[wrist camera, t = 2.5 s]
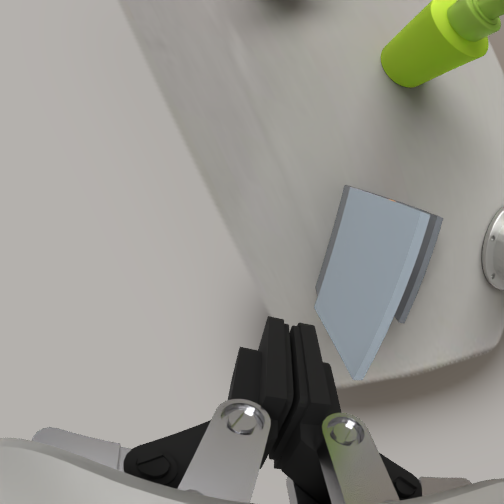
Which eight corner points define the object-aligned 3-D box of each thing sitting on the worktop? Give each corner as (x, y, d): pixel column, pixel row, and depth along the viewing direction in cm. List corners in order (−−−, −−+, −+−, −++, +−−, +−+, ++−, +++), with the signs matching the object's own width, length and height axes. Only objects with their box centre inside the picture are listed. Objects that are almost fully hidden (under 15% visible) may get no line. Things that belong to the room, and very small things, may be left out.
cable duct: (422, 210, 30) (443, 218, 25) (390, 303, 33) (404, 323, 28) (344, 184, 30) (357, 188, 25) (315, 287, 33) (321, 307, 29)
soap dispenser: (417, 103, 26) (542, 65, 7) (371, 63, 25) (463, -25, 6) (438, 73, 24) (552, 27, 5) (395, 34, 24) (483, -49, 5)
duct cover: (430, 214, 15) (421, 211, 15) (362, 379, 18) (353, 380, 18) (357, 189, 25) (350, 186, 25) (321, 308, 28) (314, 307, 28)
